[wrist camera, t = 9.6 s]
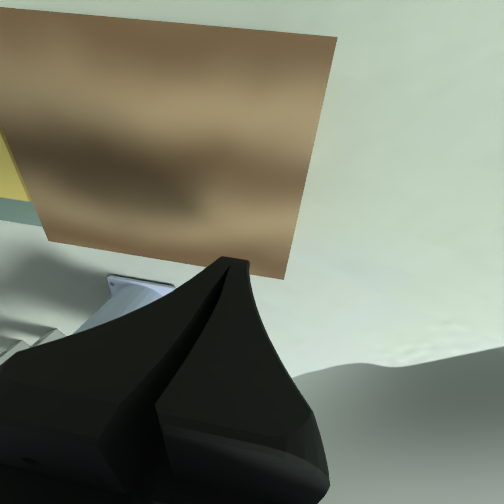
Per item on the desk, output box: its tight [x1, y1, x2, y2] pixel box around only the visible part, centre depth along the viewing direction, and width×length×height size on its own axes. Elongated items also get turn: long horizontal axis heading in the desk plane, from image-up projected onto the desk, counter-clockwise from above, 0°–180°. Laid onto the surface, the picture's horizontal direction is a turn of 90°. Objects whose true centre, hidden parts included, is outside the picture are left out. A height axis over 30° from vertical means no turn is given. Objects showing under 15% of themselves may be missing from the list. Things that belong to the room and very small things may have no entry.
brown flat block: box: [0, 7, 337, 280], centre depth 16 cm, size 14×20×4 cm
